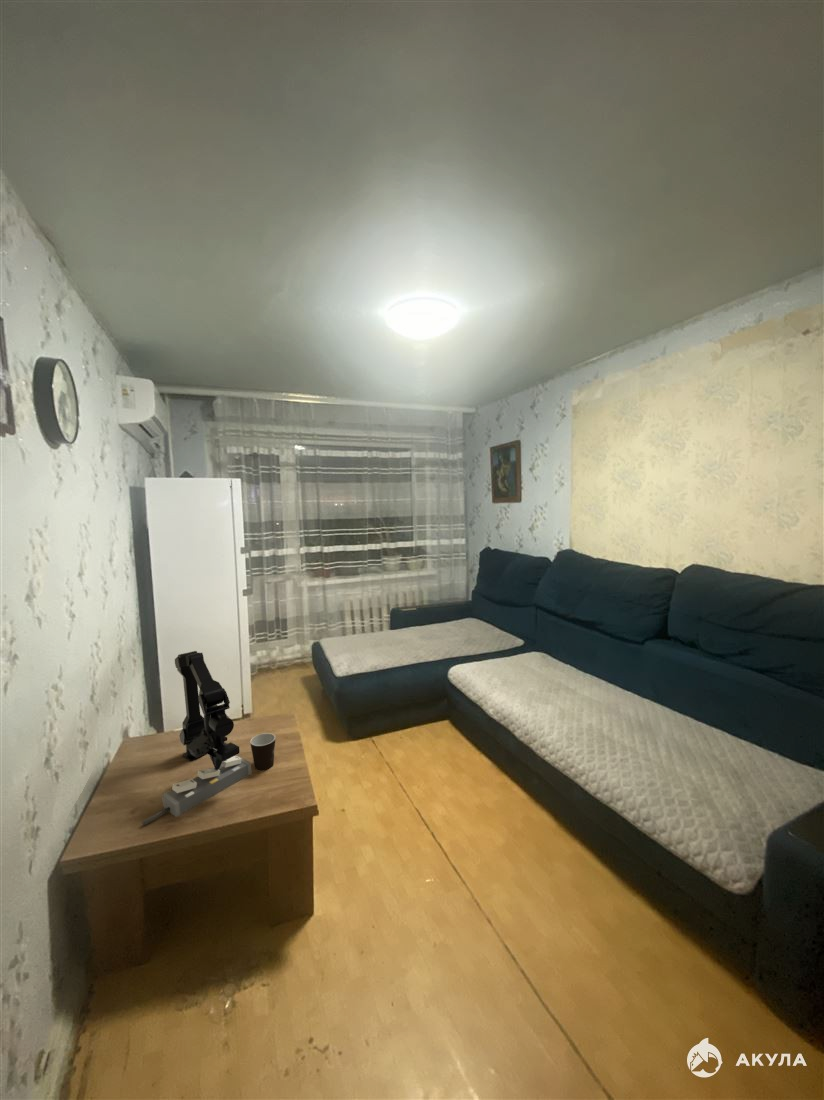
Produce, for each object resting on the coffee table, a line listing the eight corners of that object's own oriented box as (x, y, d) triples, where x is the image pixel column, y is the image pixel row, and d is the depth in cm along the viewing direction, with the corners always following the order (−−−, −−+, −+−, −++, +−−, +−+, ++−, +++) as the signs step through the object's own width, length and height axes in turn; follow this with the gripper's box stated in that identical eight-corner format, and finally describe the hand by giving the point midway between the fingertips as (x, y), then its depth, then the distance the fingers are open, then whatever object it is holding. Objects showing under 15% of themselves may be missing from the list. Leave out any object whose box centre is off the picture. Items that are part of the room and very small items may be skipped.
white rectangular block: (172, 789, 138) (173, 783, 138) (190, 784, 143) (191, 779, 143) (177, 793, 136) (178, 787, 136) (195, 787, 141) (196, 782, 141)
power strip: (136, 820, 132) (135, 807, 132) (237, 766, 159) (237, 755, 159) (149, 832, 127) (148, 819, 127) (251, 773, 154) (250, 762, 154)
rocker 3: (219, 764, 151) (220, 759, 151) (235, 760, 156) (236, 755, 156) (225, 767, 149) (226, 762, 149) (240, 763, 154) (241, 758, 154)
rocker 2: (197, 775, 144) (198, 770, 144) (213, 772, 149) (215, 767, 149) (202, 779, 142) (203, 774, 143) (219, 775, 147) (220, 770, 147)
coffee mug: (269, 774, 154) (267, 747, 153) (246, 771, 156) (245, 744, 155) (285, 755, 166) (283, 730, 164) (264, 753, 167) (262, 728, 166)
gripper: (175, 727, 145) (179, 771, 147) (206, 744, 135) (209, 792, 136) (207, 713, 154) (210, 755, 156) (238, 728, 144) (242, 773, 145)
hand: (217, 768), depth 148 cm, fingers closed, pressing on rocker 2
